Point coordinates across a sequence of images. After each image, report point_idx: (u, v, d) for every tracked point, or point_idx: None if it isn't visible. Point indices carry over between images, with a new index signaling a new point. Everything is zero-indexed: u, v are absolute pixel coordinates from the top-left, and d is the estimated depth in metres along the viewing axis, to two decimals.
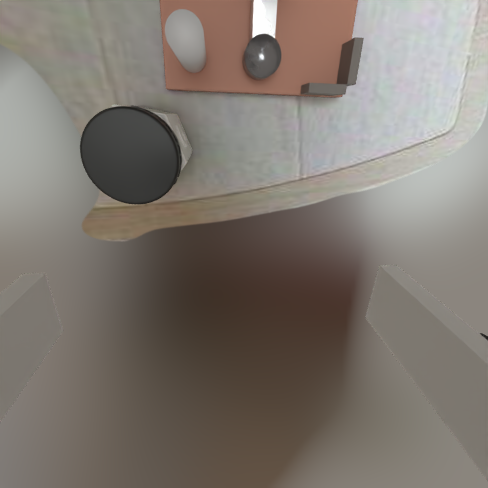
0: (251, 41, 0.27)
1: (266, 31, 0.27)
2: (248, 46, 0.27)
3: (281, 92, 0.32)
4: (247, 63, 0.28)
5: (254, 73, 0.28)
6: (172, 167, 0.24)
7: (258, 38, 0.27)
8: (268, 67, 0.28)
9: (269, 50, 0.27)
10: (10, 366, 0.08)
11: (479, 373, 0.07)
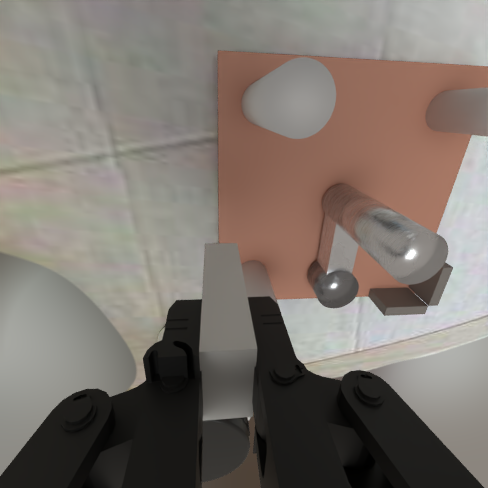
0: (326, 280, 0.23)
1: (343, 267, 0.23)
2: (322, 284, 0.23)
3: None
4: (319, 298, 0.24)
5: (326, 305, 0.24)
6: (241, 455, 0.21)
7: (334, 277, 0.23)
8: (342, 299, 0.24)
9: (345, 286, 0.24)
10: None
11: None
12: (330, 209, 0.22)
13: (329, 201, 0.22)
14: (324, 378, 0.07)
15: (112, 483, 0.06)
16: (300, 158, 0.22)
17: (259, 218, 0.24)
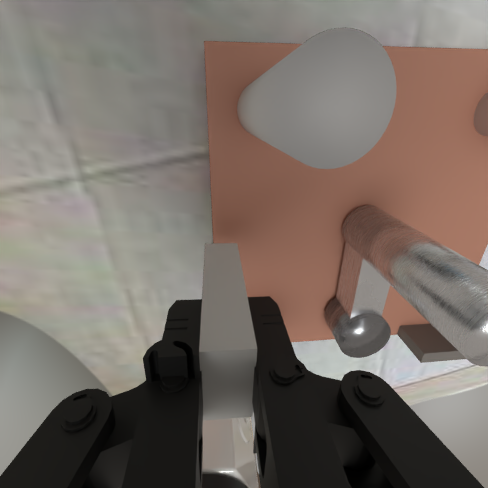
0: (350, 326, 0.18)
1: (371, 309, 0.19)
2: (345, 331, 0.19)
3: None
4: (341, 347, 0.19)
5: (349, 355, 0.20)
6: None
7: (360, 322, 0.18)
8: (370, 347, 0.20)
9: (374, 332, 0.19)
10: None
11: None
12: (354, 240, 0.17)
13: (352, 229, 0.17)
14: (324, 378, 0.07)
15: (112, 483, 0.06)
16: (314, 176, 0.17)
17: (264, 250, 0.19)
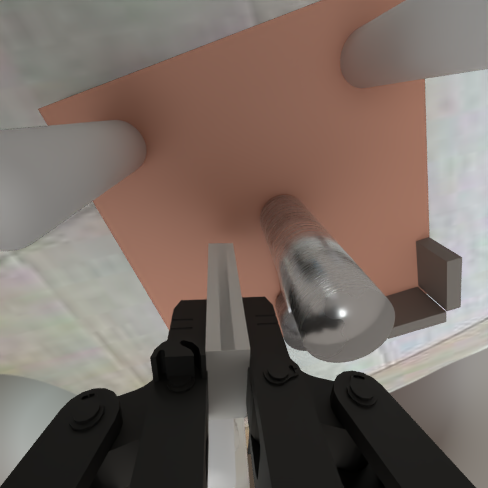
0: (289, 321, 0.18)
1: None
2: (286, 327, 0.18)
3: None
4: (289, 343, 0.19)
5: (301, 349, 0.19)
6: None
7: None
8: None
9: None
10: None
11: None
12: None
13: (262, 225, 0.17)
14: (317, 379, 0.07)
15: (119, 482, 0.06)
16: (201, 189, 0.17)
17: (188, 270, 0.19)
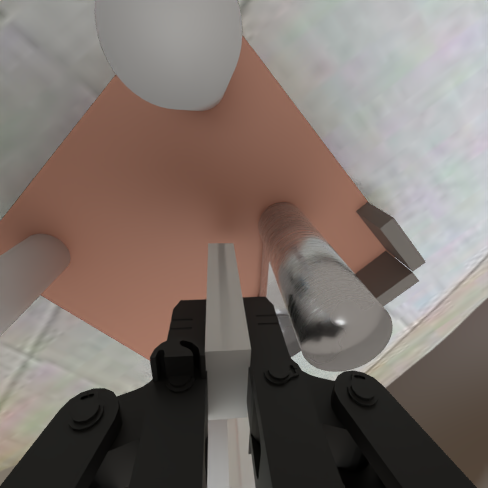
0: None
1: (285, 310, 0.18)
2: None
3: None
4: None
5: None
6: None
7: None
8: None
9: (289, 333, 0.18)
10: None
11: None
12: (261, 237, 0.16)
13: (261, 226, 0.17)
14: (318, 379, 0.07)
15: (119, 483, 0.06)
16: (127, 256, 0.18)
17: (158, 322, 0.21)
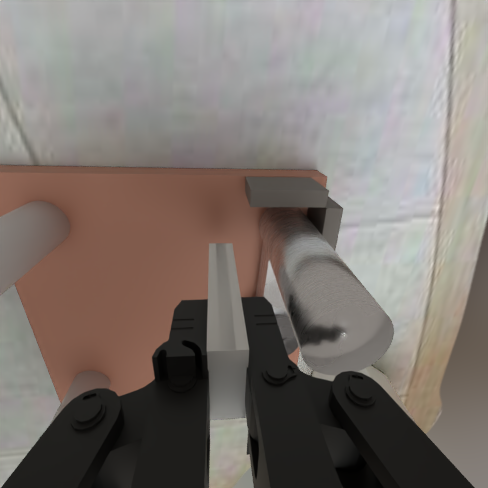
0: None
1: (282, 311, 0.18)
2: None
3: None
4: None
5: None
6: None
7: None
8: None
9: (284, 334, 0.18)
10: None
11: None
12: (262, 236, 0.16)
13: (263, 225, 0.16)
14: (316, 379, 0.07)
15: (121, 483, 0.06)
16: (132, 351, 0.22)
17: None
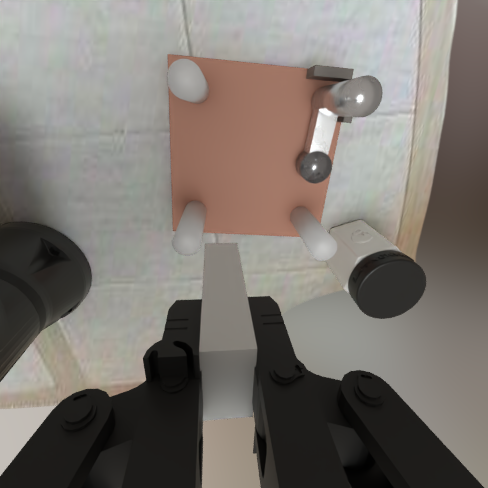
0: (308, 156, 0.32)
1: (322, 149, 0.32)
2: (305, 160, 0.32)
3: (335, 141, 0.34)
4: (302, 172, 0.32)
5: (306, 180, 0.33)
6: (406, 265, 0.31)
7: (314, 154, 0.32)
8: (319, 176, 0.33)
9: (322, 164, 0.32)
10: None
11: None
12: (315, 99, 0.30)
13: (315, 95, 0.30)
14: (324, 378, 0.07)
15: (112, 483, 0.06)
16: (224, 187, 0.36)
17: (261, 211, 0.37)
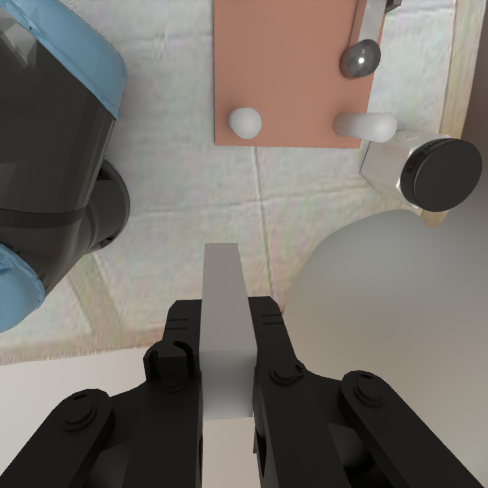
0: (357, 45, 0.31)
1: (370, 37, 0.31)
2: (354, 49, 0.31)
3: (380, 36, 0.34)
4: (350, 63, 0.32)
5: (355, 72, 0.32)
6: (464, 146, 0.30)
7: (363, 42, 0.31)
8: (367, 68, 0.32)
9: (371, 53, 0.32)
10: None
11: None
12: None
13: None
14: (324, 378, 0.07)
15: (112, 483, 0.06)
16: (268, 92, 0.35)
17: (303, 119, 0.37)
